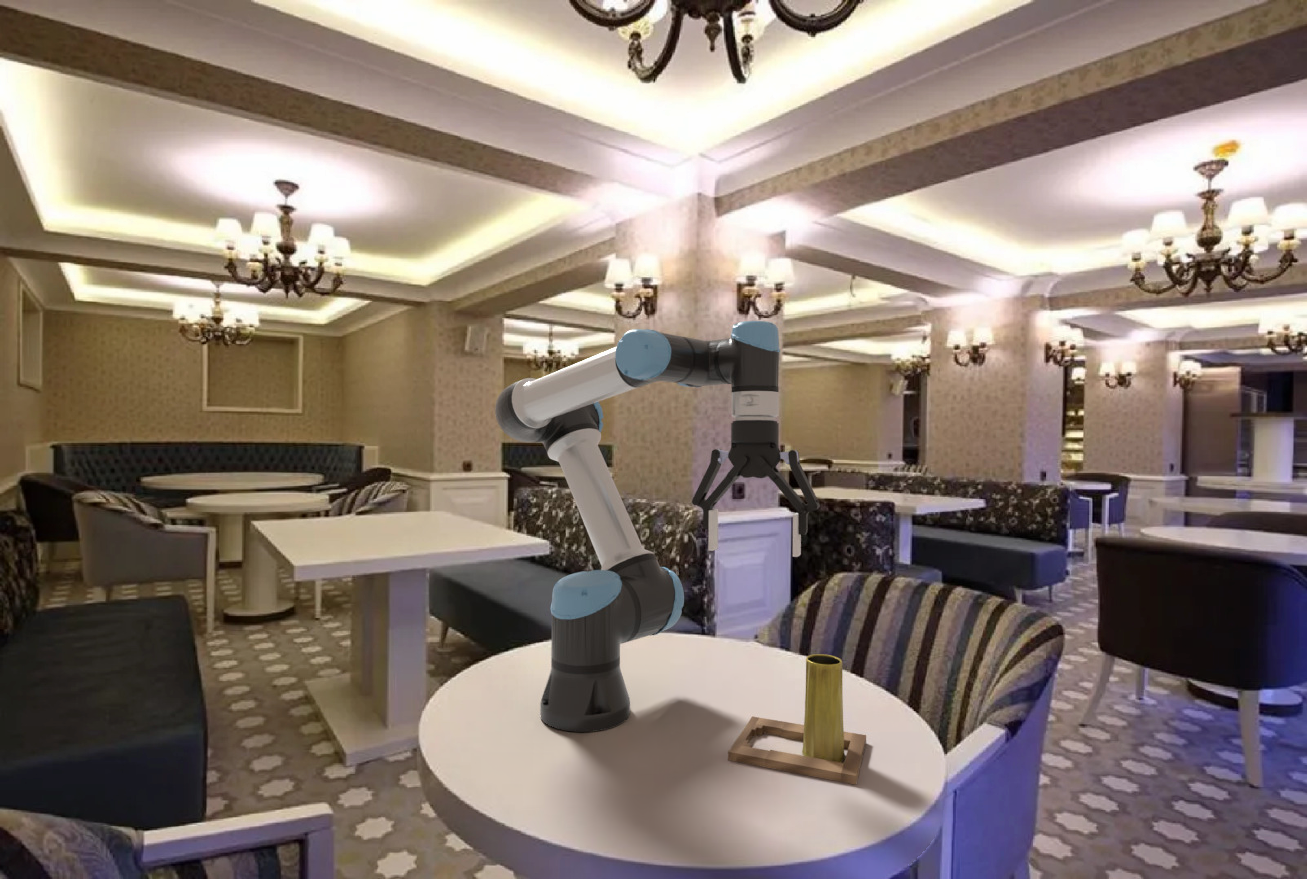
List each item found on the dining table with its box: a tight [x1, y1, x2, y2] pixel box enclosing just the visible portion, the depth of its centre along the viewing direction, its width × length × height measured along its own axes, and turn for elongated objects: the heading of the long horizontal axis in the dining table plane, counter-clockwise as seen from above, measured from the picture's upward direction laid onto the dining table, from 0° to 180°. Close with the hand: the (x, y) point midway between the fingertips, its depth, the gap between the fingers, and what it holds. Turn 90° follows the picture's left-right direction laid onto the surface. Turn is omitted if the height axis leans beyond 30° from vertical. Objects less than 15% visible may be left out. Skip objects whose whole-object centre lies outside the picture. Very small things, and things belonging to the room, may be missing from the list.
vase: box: [801, 653, 846, 763], centre depth 101 cm, size 6×6×14 cm
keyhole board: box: [727, 716, 867, 786], centre depth 102 cm, size 18×14×1 cm
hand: (753, 552), depth 108 cm, fingers open, 13 cm apart
